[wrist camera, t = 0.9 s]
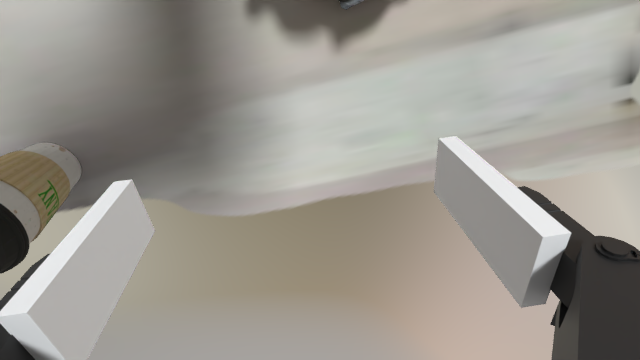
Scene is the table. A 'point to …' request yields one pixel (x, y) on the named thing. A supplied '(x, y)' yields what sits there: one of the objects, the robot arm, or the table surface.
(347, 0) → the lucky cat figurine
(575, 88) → the table surface
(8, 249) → the coffee cup
